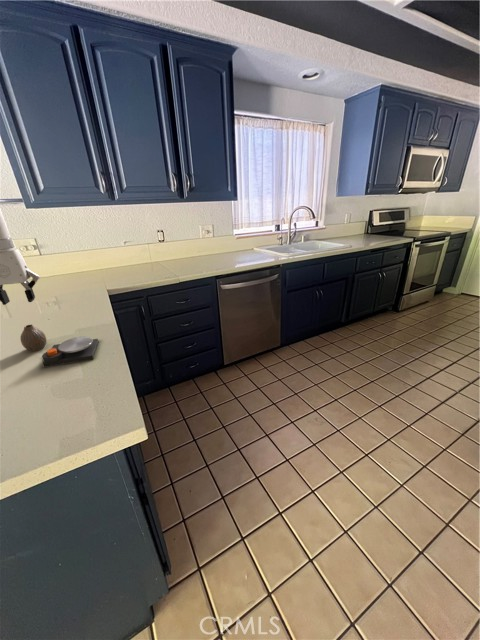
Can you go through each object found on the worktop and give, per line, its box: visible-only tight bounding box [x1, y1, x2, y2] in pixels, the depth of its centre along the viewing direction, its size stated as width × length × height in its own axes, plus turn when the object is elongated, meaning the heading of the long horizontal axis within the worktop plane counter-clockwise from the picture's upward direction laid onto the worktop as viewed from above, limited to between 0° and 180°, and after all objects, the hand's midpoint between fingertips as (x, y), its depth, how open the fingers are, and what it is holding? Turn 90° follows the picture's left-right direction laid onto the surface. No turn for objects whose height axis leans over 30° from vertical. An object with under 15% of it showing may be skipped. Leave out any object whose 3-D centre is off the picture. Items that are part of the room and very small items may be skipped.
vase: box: [19, 324, 47, 352], centre depth 91 cm, size 7×7×9 cm
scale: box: [41, 338, 99, 368], centre depth 89 cm, size 14×12×3 cm
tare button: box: [46, 347, 58, 356], centre depth 84 cm, size 3×3×2 cm
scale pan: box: [58, 336, 93, 353], centre depth 89 cm, size 10×10×1 cm
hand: (19, 301), depth 85 cm, fingers open, 6 cm apart
